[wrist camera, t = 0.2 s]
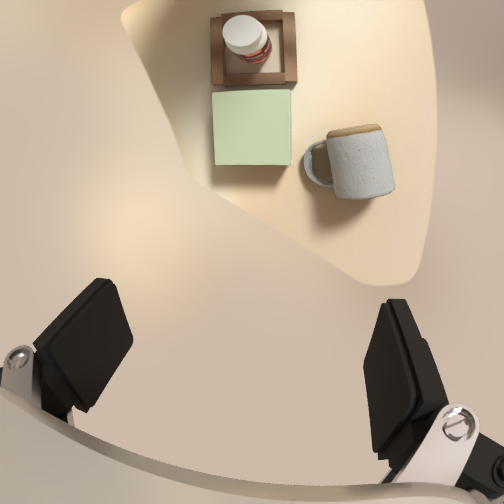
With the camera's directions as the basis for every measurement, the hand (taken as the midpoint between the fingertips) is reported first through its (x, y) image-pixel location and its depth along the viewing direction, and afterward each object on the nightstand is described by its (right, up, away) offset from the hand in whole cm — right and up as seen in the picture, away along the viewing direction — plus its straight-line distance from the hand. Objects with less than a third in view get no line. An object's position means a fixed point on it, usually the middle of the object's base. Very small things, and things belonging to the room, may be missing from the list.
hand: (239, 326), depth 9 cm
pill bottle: (+1, +29, +20) cm, 35 cm away
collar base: (+1, +28, +20) cm, 35 cm away
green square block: (+1, +19, +25) cm, 31 cm away
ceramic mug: (+13, +15, +25) cm, 32 cm away
